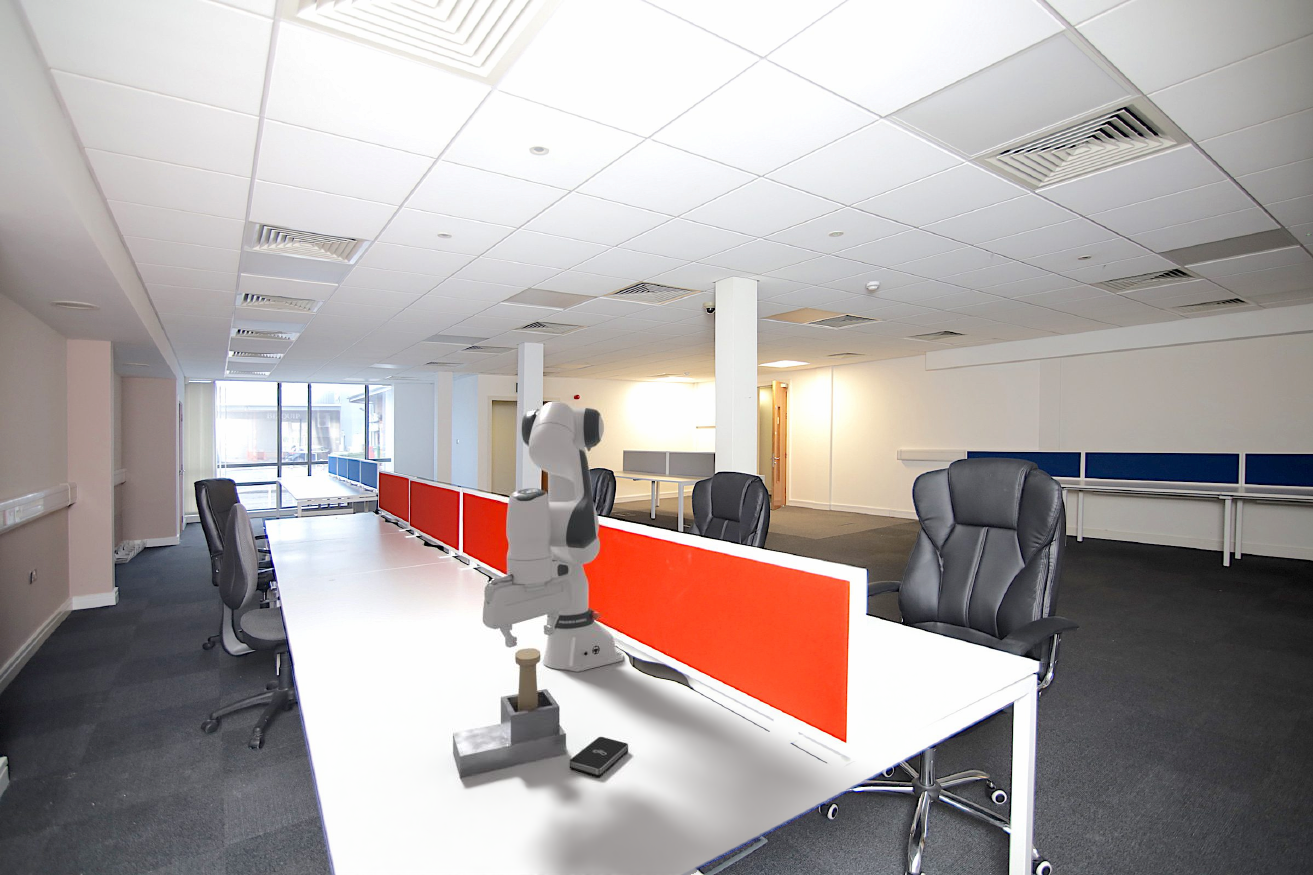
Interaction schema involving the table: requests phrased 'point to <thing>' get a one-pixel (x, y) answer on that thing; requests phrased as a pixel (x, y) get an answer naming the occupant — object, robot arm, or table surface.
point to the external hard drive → (598, 757)
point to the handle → (527, 678)
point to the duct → (511, 738)
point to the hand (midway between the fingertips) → (530, 639)
